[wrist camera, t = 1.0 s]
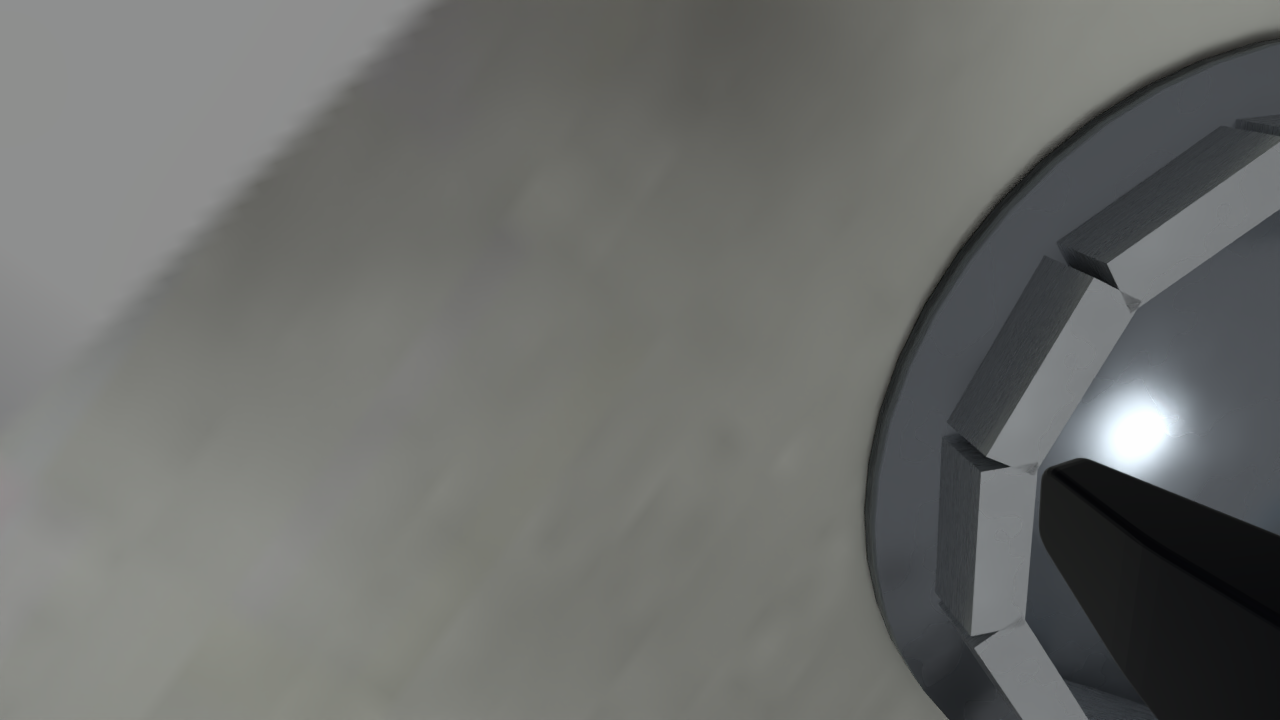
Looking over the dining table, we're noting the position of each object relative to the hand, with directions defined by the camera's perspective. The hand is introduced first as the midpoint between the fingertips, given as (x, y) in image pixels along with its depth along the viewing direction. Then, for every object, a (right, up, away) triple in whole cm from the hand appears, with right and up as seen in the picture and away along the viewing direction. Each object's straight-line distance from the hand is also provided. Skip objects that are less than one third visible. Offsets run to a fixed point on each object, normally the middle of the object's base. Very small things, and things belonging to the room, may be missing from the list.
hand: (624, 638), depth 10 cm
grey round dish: (+17, 0, +19) cm, 26 cm away
